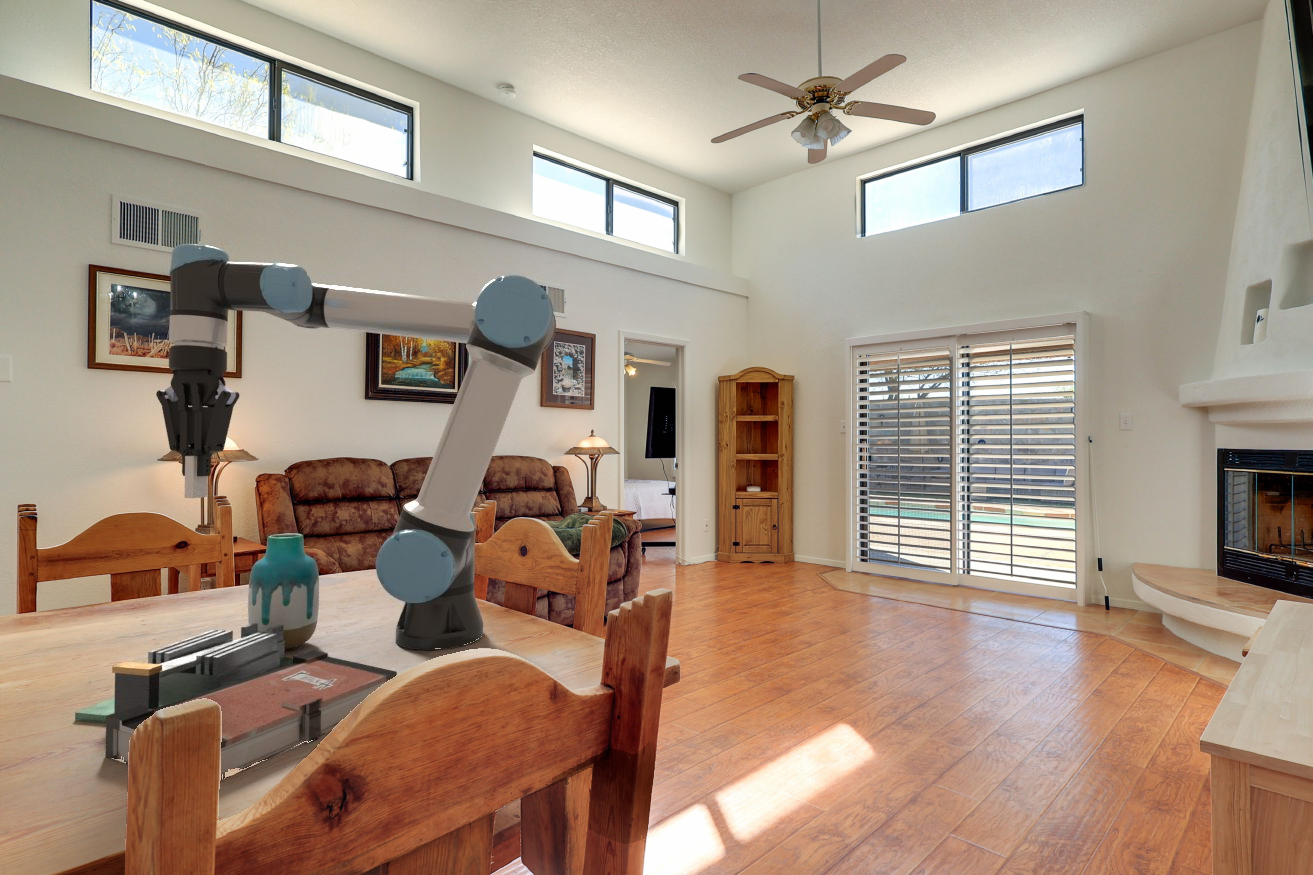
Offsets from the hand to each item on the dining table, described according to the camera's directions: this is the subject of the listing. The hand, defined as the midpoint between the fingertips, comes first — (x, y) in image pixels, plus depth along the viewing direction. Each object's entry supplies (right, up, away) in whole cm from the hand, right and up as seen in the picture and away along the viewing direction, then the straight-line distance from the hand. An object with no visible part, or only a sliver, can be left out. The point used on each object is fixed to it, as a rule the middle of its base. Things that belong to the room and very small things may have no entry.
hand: (196, 497), depth 104 cm
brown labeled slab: (+23, -27, -21) cm, 42 cm away
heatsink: (+8, -27, -10) cm, 29 cm away
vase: (+8, -27, +10) cm, 30 cm away
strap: (+8, -22, -9) cm, 25 cm away
